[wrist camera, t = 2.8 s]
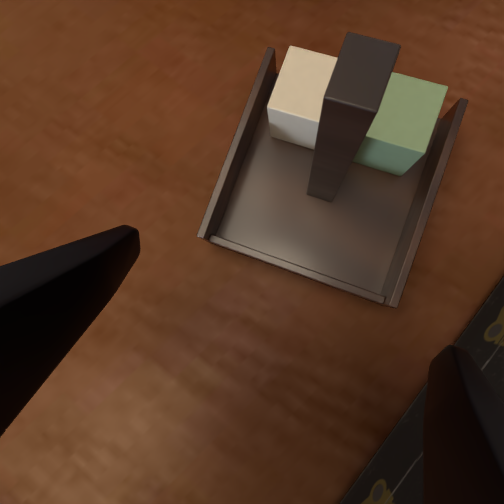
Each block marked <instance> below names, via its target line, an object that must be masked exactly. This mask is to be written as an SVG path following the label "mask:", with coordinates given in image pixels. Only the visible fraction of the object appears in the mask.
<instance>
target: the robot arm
mask: <svg viewBox="0 0 504 504" xmlns="http://www.w3.org/2000/svg"><path fill="white" fill-rule="evenodd" d="M139 254H140V239H139V231H138V230H137V229H136V228H133V227H130V226H128V225H122V226H119V227H116V228H113V229H110V230H107V231H104V232H101V233H98V234H95V235H92V236H89V237H86V238H83V239H80V240H77V241H74V242H71V243H68V244H65V245H62V246H59V247H56V248H53V249H50V250H47V251H44V252H41V253H38V254H35V255H32V256H29V257H26V258H24V259H21V260H18V261H15V262H12V263H9V264H6V265H3V266H0V437H1V436H2V434H3V433H4V432H5V429H7V428H8V427H9V425H10V424H11V423H12V422H13V420H14V419H15V418H16V417H17V415H18V414H19V413H20V412H21V410H22V409H23V408H24V407H25V405H26V404H27V403H28V402H29V400H30V399H31V398H32V397H33V396H34V394H35V393H36V392H37V391H38V389H39V388H40V387H41V386H42V384H43V383H44V382H45V381H46V379H47V378H48V377H49V376H50V374H51V373H52V372H53V371H54V369H55V368H56V367H57V366H58V364H59V363H60V362H61V361H62V359H63V358H64V357H65V356H66V354H67V353H68V352H69V351H70V350H71V348H72V347H73V346H74V345H75V343H76V342H77V341H78V340H79V338H80V337H81V336H82V335H83V333H84V332H85V331H86V330H87V328H88V327H89V326H90V325H91V323H92V322H93V321H94V320H95V318H96V317H97V316H98V315H99V313H100V312H101V311H102V310H103V308H104V307H105V306H106V305H107V303H108V302H109V301H110V300H111V298H112V297H113V296H114V294H115V293H116V291H117V290H118V288H119V286H120V285H121V283H122V282H123V280H124V279H125V277H126V275H127V274H128V272H129V271H130V269H131V267H132V266H133V264H134V263H135V261H136V260H137V258H138V256H139ZM423 488H424V504H504V403H503V401H502V400H501V399H500V397H499V396H498V394H497V393H496V391H495V390H494V388H493V387H492V385H491V384H490V382H489V381H488V379H487V378H486V377H485V375H484V374H483V372H482V371H481V369H480V368H479V366H478V365H477V363H476V362H475V360H474V359H473V357H472V356H471V355H470V353H469V352H468V351H467V350H465V349H463V348H460V347H457V346H454V345H448V346H447V347H445V348H444V349H443V350H442V351H441V352H440V353H439V354H438V355H437V356H436V357H435V358H434V359H433V360H432V362H431V364H430V367H429V375H428V384H427V392H426V401H425V409H424V420H423Z"/></svg>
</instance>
